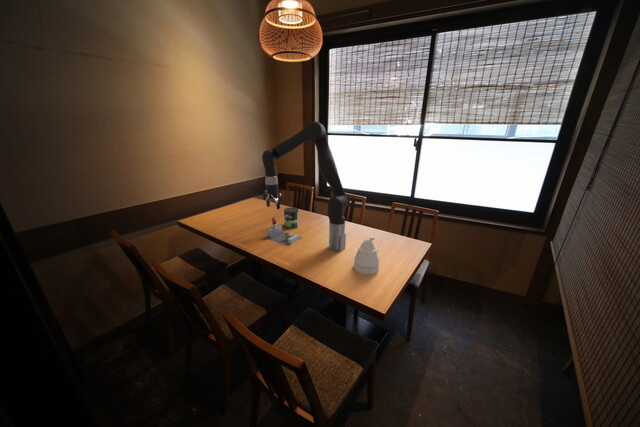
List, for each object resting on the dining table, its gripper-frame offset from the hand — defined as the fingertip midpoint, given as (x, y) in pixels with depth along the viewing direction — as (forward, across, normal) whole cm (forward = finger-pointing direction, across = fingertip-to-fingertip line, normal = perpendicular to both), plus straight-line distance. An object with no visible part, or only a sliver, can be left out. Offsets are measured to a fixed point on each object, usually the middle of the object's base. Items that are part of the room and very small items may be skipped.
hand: (273, 207), depth 159 cm
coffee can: (+21, 0, -18) cm, 28 cm away
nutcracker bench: (+21, -7, 0) cm, 22 cm away
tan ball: (+16, -12, 0) cm, 20 cm away
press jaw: (+19, 0, 0) cm, 19 cm away
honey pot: (+21, -66, 0) cm, 69 cm away
